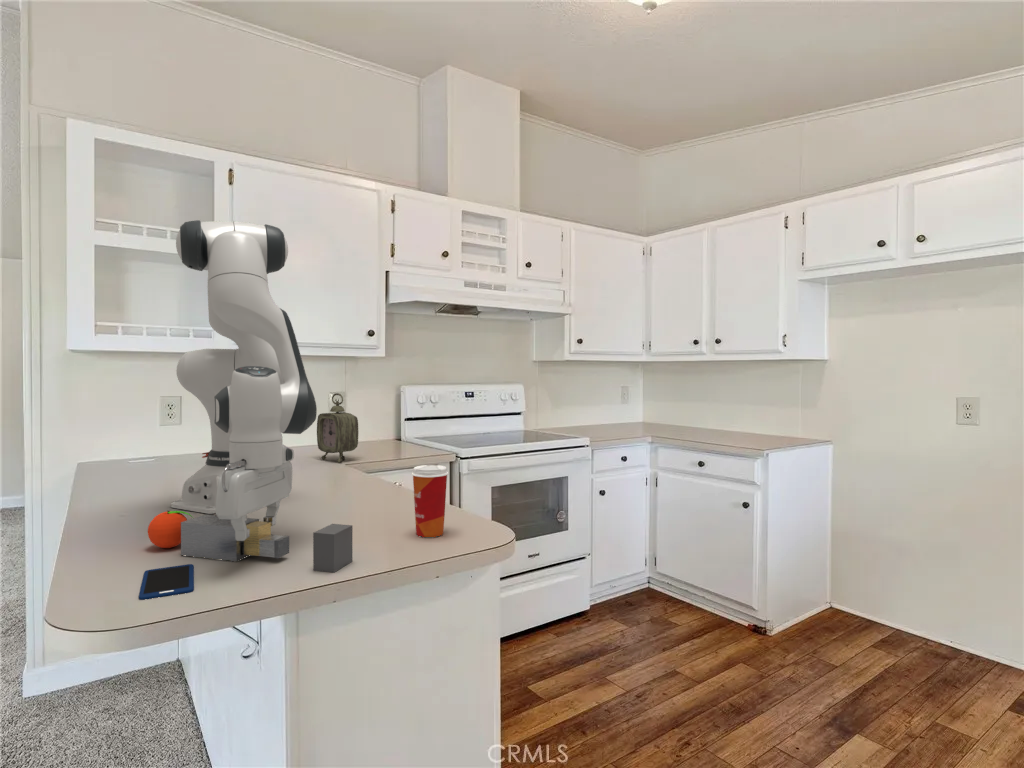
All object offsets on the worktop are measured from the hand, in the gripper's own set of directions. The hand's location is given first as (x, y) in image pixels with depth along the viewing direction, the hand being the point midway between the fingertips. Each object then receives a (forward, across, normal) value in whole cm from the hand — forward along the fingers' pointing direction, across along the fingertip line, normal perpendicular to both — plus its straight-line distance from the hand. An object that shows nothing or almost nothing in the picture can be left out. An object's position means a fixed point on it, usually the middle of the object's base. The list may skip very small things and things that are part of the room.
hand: (256, 532), depth 107 cm
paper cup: (+5, +19, -27) cm, 34 cm away
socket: (+5, -2, -15) cm, 16 cm away
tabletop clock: (+3, +110, +28) cm, 113 cm away
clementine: (+5, +5, +20) cm, 21 cm away
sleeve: (+5, +2, +8) cm, 9 cm away
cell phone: (+5, -12, +8) cm, 16 cm away
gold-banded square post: (+5, +1, +4) cm, 6 cm away
